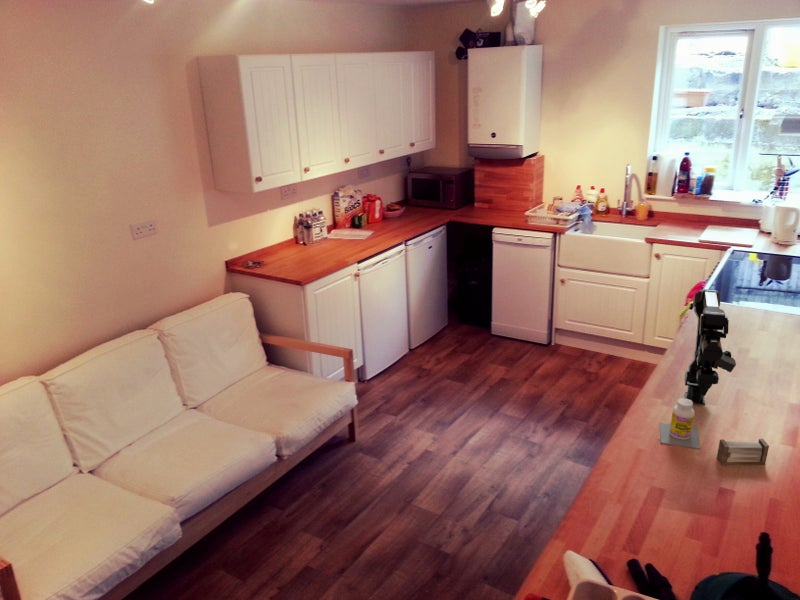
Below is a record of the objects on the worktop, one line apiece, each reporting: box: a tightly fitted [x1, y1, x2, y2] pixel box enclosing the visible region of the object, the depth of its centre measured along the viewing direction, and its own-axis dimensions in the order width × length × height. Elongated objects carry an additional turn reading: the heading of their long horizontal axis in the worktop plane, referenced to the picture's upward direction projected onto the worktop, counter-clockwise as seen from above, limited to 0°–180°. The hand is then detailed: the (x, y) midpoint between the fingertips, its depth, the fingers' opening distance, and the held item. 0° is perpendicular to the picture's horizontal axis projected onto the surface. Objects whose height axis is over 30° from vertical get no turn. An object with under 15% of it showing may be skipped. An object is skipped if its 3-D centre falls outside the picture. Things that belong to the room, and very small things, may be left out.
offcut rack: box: [716, 438, 770, 467], centre depth 204 cm, size 4×13×7 cm, turn 88°
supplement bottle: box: [670, 397, 696, 440], centre depth 216 cm, size 7×7×13 cm
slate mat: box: [659, 422, 701, 450], centre depth 218 cm, size 12×12×1 cm
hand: (702, 388), depth 221 cm, fingers open, 9 cm apart
